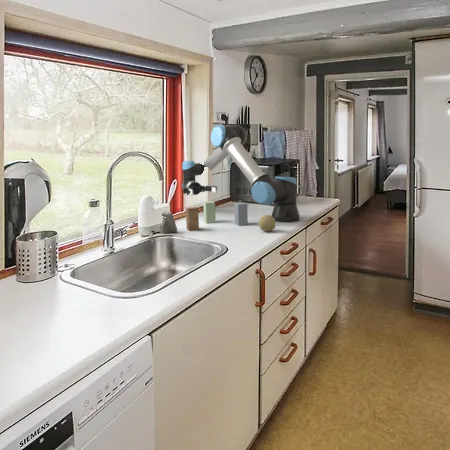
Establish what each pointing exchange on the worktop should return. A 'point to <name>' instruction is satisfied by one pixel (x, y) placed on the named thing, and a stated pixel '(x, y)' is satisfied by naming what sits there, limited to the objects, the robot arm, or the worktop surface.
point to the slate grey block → (241, 214)
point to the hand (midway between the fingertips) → (204, 191)
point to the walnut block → (192, 218)
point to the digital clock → (167, 223)
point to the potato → (267, 223)
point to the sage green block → (209, 212)
